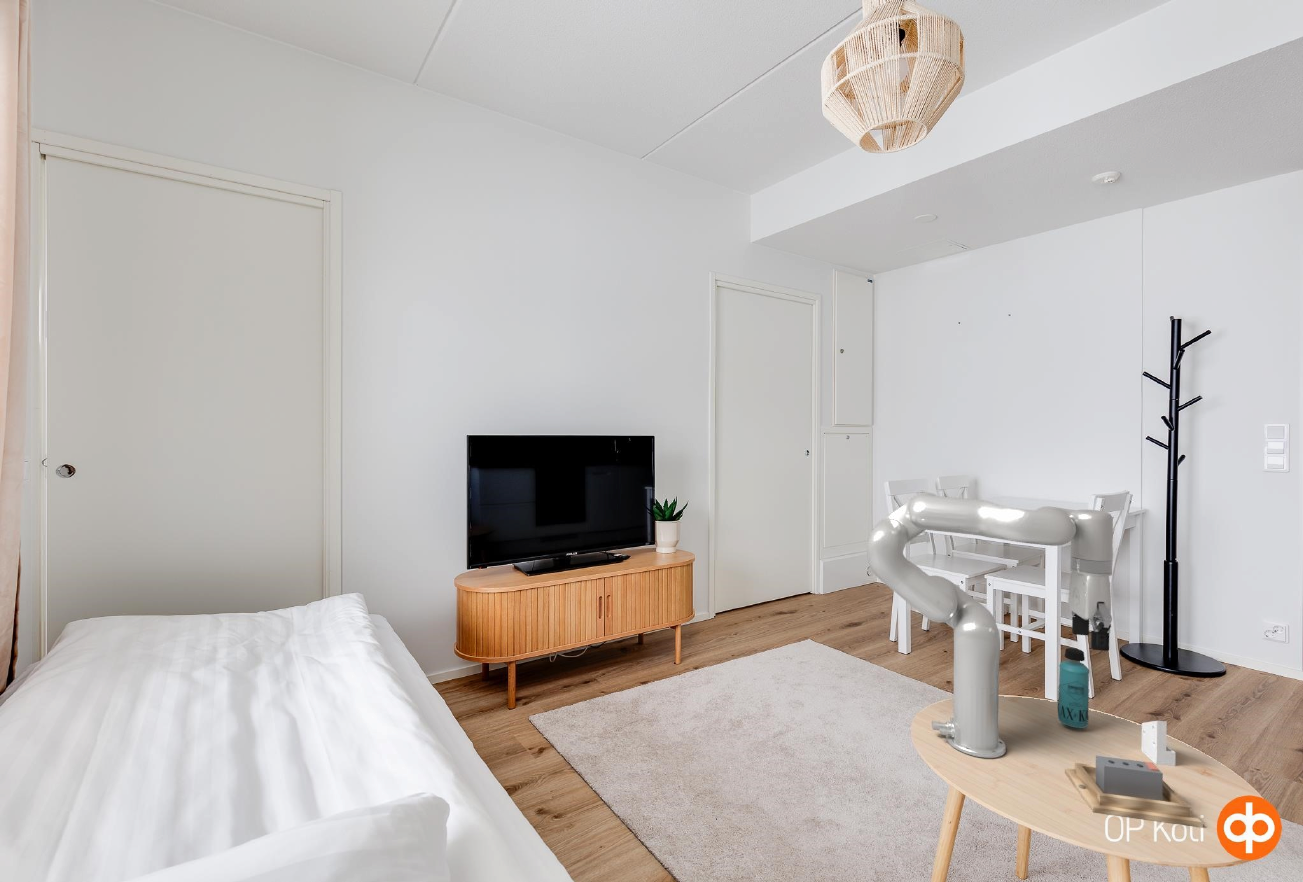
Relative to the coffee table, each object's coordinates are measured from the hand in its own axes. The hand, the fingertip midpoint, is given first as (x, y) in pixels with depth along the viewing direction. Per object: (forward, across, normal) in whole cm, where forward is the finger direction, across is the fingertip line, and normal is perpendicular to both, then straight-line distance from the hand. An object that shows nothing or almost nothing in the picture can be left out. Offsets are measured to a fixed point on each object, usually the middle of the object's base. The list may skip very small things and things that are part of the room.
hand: (1089, 641), depth 135 cm
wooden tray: (+28, +11, +3) cm, 31 cm away
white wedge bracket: (+29, -8, +17) cm, 34 cm away
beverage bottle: (+28, -19, +4) cm, 34 cm away
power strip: (+27, +11, +3) cm, 30 cm away
